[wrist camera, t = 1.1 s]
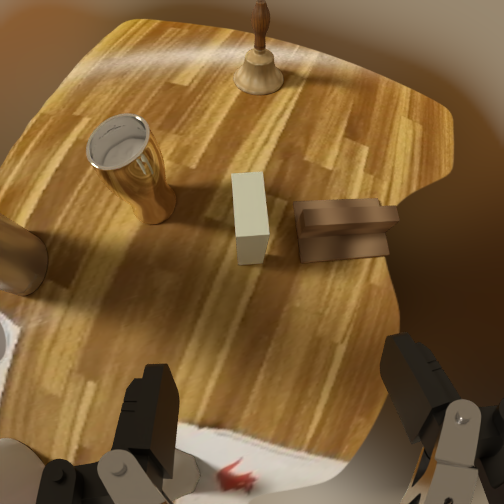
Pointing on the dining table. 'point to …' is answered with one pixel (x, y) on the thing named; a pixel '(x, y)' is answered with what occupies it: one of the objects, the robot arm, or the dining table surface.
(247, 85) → the hand bell
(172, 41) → the dining table surface
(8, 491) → the utensil holder
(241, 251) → the pale slotted block
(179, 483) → the flask
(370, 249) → the walnut rail
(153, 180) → the beer glass
